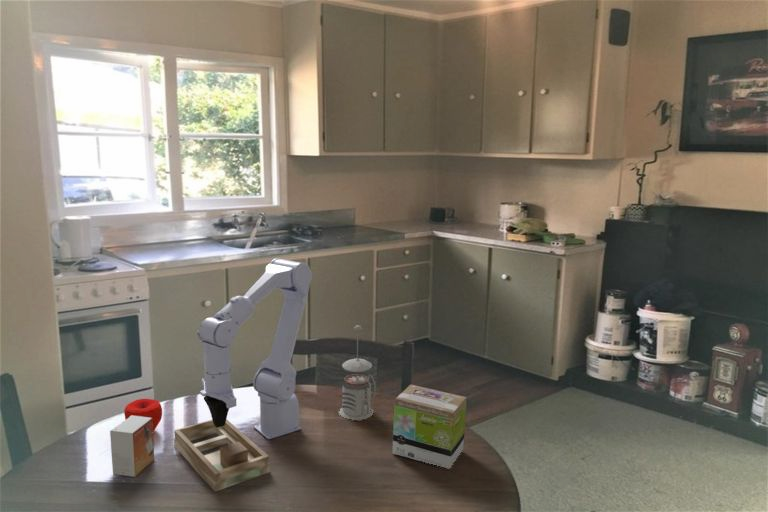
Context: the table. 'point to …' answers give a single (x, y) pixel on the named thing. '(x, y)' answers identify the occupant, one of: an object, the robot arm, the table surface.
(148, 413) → the apple
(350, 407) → the french press
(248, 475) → the box
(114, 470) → the small box
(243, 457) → the walnut block
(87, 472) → the table surface
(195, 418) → the table surface
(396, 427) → the tea box
